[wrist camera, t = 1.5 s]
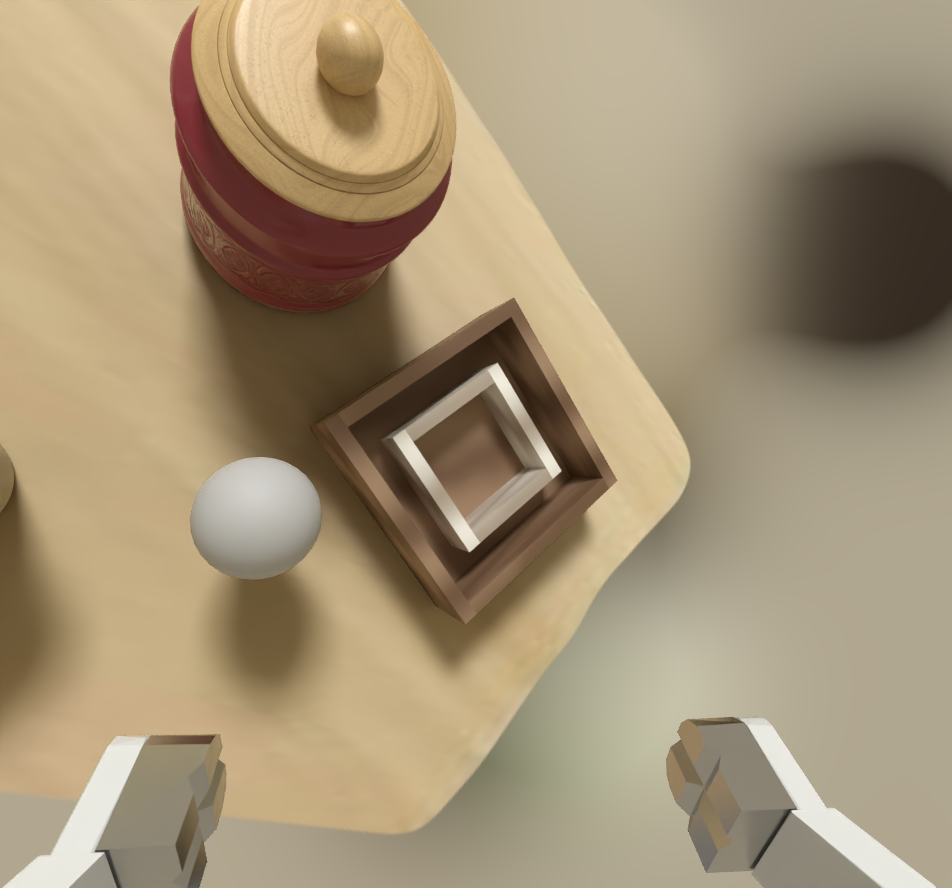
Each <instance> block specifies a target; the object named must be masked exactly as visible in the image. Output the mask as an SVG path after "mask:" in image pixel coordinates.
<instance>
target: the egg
mask: <svg viewBox="0 0 952 888" xmlns="http://www.w3.org/2000/svg"><path fill="white" fill-rule="evenodd" d="M321 519H322V512H321V503H320V500H319V496H318V493H317V491H316V489H315V487H314V485H313V484H312V482H311V481H310V480H309V479H308V478H307V476H306V475H305V474H304V473H302V472H301V471H300V470H299V469H297V468H296V467H294V466H292V465H291V464H289V463H287V462H284V461H281V460H278V459H275V458H267V457H253V458H245V459H241V460H238V461H234V462H232V463H230V464H228V465H226V466H224V467H222V468H221V469H219V470H218V471H216V472H215V473H214V474H212V475H211V477H210V478H209V479H208V480H207V481H206V482H205V483H204V484H203V486H202V487H201V489H200V490H199V492H198V493H197V495H196V498H195V501H194V503H193V506H192V511H191V517H190V524H191V534H192V537H193V540H194V544H195V546H196V547H197V549H198V551H199V553H200V554H201V556H202V557H203V558H204V559H205V560H206V561H207V562H208V563H209V564H210V565H211V566H213V567H214V568H215V569H217V570H218V571H220V572H222V573H224V574H227V575H229V576H231V577H236V578H241V579H264V578H270V577H273V576H276V575H279V574H282V573H284V572H286V571H287V570H289V569H291V568H293V567H294V566H295V565H297V564H298V563H299V562H300V561H301V560H303V559H304V557H305V556H306V555H307V554H308V553H309V551H310V550H311V549H312V547H313V545H314V543H315V541H316V540H317V537H318V534H319V531H320V527H321Z"/></svg>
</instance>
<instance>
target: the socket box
mask: <svg viewBox="0 0 952 888" xmlns="http://www.w3.org/2000/svg"><path fill="white" fill-rule="evenodd" d="M310 429H311V430H312V432H313V433H314V435H315V436H316V437H317V439H318V440H319V442H320V443H321V444H322V446H323V447H324V449H325V450H326V451H327V453H328V454H329V456H330V457H331V458H332V460H333V461H334V463H335V464H336V466H337V467H338V468H339V470H340V471H341V473H342V474H343V475H344V477H345V478H346V480H347V481H348V482H349V484H350V485H351V487H352V488H353V489H354V491H355V492H356V494H357V495H358V496H359V498H360V499H361V501H362V502H363V503H364V505H365V506H366V508H367V509H368V510H369V512H370V513H371V515H372V516H373V518H374V519H375V520H376V522H377V523H378V525H379V526H380V527H381V529H382V530H383V532H384V533H385V534H386V536H387V537H388V539H389V540H390V541H391V543H392V544H393V546H394V547H395V548H396V550H397V551H398V553H399V554H400V555H401V557H402V558H403V560H404V561H405V563H406V564H407V565H408V567H409V568H410V570H411V571H412V572H413V574H414V575H415V577H416V578H417V579H418V581H419V582H420V584H421V585H422V586H423V588H424V589H425V591H426V592H427V593H428V595H429V596H430V598H431V599H432V600H433V602H434V603H435V605H436V606H437V607H439V608H440V609H442V610H443V611H445V612H447V613H448V614H450V615H451V616H453V617H454V618H456V619H458V620H459V621H461V622H462V623H464V624H467V623H468V622H469V621H470V620H471V619H472V618H473V617H474V616H475V615H476V614H477V613H479V612H480V611H481V610H482V609H483V608H484V607H485V606H486V605H487V604H488V603H489V602H490V601H491V600H492V599H493V598H494V597H495V596H496V595H497V594H499V593H500V592H501V591H502V590H503V589H504V588H505V587H506V586H507V585H508V584H509V583H510V582H511V581H512V580H513V579H514V578H515V577H516V576H517V575H519V574H520V573H521V572H522V571H523V570H524V569H525V568H526V567H527V566H528V565H529V564H530V563H531V562H532V561H533V560H534V559H535V558H536V557H537V556H539V555H540V554H541V553H542V552H543V551H544V550H545V549H546V548H547V547H548V546H549V545H550V544H551V543H552V542H553V541H554V540H555V539H556V538H557V537H559V536H560V535H561V534H562V533H563V532H564V531H565V530H566V529H567V528H568V527H569V526H570V525H571V524H572V523H573V522H574V521H575V520H576V519H577V518H579V517H580V516H581V515H582V514H583V513H584V512H585V511H586V510H587V509H588V508H589V507H590V506H591V505H592V504H593V503H594V502H595V501H596V500H597V499H599V498H600V497H601V496H602V495H603V494H604V493H605V492H606V491H607V490H608V489H609V488H610V487H611V486H612V485H613V484H614V483H615V482H616V481H617V479H616V477H615V476H614V474H613V472H612V470H611V469H610V467H609V465H608V463H607V461H606V460H605V458H604V456H603V454H602V453H601V451H600V449H599V447H598V446H597V444H596V442H595V440H594V438H593V437H592V435H591V433H590V431H589V430H588V428H587V426H586V424H585V422H584V421H583V419H582V417H581V415H580V414H579V412H578V410H577V408H576V407H575V405H574V403H573V401H572V399H571V398H570V396H569V394H568V392H567V391H566V389H565V387H564V385H563V383H562V382H561V380H560V378H559V376H558V375H557V373H556V371H555V369H554V368H553V366H552V364H551V362H550V360H549V359H548V357H547V355H546V353H545V352H544V350H543V348H542V346H541V344H540V343H539V341H538V339H537V337H536V336H535V334H534V332H533V330H532V329H531V327H530V325H529V323H528V321H527V320H526V318H525V316H524V314H523V313H522V311H521V309H520V307H519V305H518V304H517V302H516V300H515V298H512V299H511V300H509V301H507V302H505V303H503V304H501V305H499V306H497V307H496V308H494V309H492V310H490V311H488V312H486V313H484V314H483V315H481V316H479V317H478V318H476V319H475V320H473V321H472V322H470V323H469V324H467V325H466V326H464V327H462V328H461V329H459V330H458V331H456V332H455V333H453V334H452V335H450V336H449V337H447V338H446V339H444V340H443V341H441V342H440V343H438V344H436V345H435V346H433V347H432V348H430V349H429V350H427V351H426V352H424V353H423V354H421V355H420V356H418V357H417V358H415V359H414V360H412V361H410V362H409V363H407V364H406V365H404V366H403V367H401V368H400V369H398V370H397V371H395V372H394V373H392V374H391V375H389V376H388V377H386V378H384V379H383V380H381V381H380V382H378V383H377V384H375V385H374V386H372V387H371V388H369V389H368V390H366V391H365V392H363V393H362V394H360V395H359V396H357V397H355V398H354V399H352V400H351V401H349V402H348V403H346V404H345V405H343V406H342V407H340V408H339V409H337V410H336V411H334V412H333V413H331V414H329V415H328V416H326V417H325V418H323V419H322V420H320V421H319V422H317V423H316V424H314V425H313V426H311V427H310Z"/></svg>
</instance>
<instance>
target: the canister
mask: <svg viewBox="0 0 952 888" xmlns="http://www.w3.org/2000/svg"><path fill="white" fill-rule="evenodd" d="M170 92H171V100H172V106H173V111H174V116H175V138H176V146H177V151H178V156H179V159H180V163H181V166H182V169H181V179H180V189H181V199H182V206H183V211H184V216H185V219H186V222H187V225H188V228H189V230H190V233H191V235H192V237H193V239H194V241H195V243H196V245H197V246H198V248H199V250H200V251H201V253H202V254H203V256H204V257H205V258H206V260H207V261H208V262H209V264H210V265H211V266H212V267H213V269H214V270H215V271H216V272H217V273H218V274H219V275H220V276H221V277H222V278H223V279H224V280H225V281H226V282H227V283H228V284H230V285H231V286H232V287H233V288H235V289H236V290H237V291H239V292H240V293H242V294H243V295H245V296H247V297H248V298H250V299H252V300H254V301H256V302H258V303H261V304H263V305H266V306H268V307H271V308H275V309H278V310H283V311H288V312H297V313H311V312H319V311H325V310H330V309H334V308H337V307H340V306H343V305H345V304H347V303H349V302H351V301H353V300H355V299H356V298H358V297H359V296H361V295H362V294H363V293H365V292H366V291H367V290H368V289H369V288H370V287H371V286H372V285H373V284H374V283H375V282H376V281H377V280H378V278H379V277H380V276H381V274H382V273H383V271H384V270H385V268H386V266H387V264H389V263H390V262H392V261H393V260H394V259H396V258H397V257H398V256H399V255H400V254H401V253H402V252H403V251H404V250H405V249H406V248H407V247H408V245H409V244H410V243H411V241H412V240H413V239H414V238H415V237H417V236H418V235H419V234H420V233H421V232H422V231H423V230H424V229H425V228H426V227H427V226H428V225H429V224H430V223H431V221H432V220H433V218H434V217H435V216H436V214H437V212H438V211H439V209H440V207H441V205H442V203H443V200H444V198H445V195H446V192H447V189H448V185H449V181H450V175H451V167H452V155H453V152H454V146H455V139H456V113H455V105H454V100H453V95H452V91H451V87H450V84H449V81H448V78H447V75H446V73H445V70H444V68H443V66H442V63H441V61H440V59H439V57H438V55H437V53H436V51H435V50H434V48H433V46H432V45H431V43H430V41H429V40H428V38H427V37H426V35H425V34H424V32H423V31H422V30H421V28H420V27H419V26H418V24H417V23H416V22H415V21H414V19H413V18H412V17H411V16H410V15H409V14H408V13H407V11H406V10H405V9H404V8H403V7H402V6H401V5H400V4H399V3H398V2H397V1H396V0H202V1H201V3H200V5H199V6H198V7H197V8H196V9H195V10H194V12H193V13H192V14H191V15H190V17H189V18H188V20H187V21H186V23H185V24H184V26H183V28H182V30H181V32H180V34H179V36H178V39H177V41H176V44H175V47H174V51H173V55H172V61H171V68H170Z"/></svg>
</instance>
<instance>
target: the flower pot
mask: <svg viewBox="0 0 952 888" xmlns="http://www.w3.org/2000/svg"><path fill="white" fill-rule="evenodd" d="M13 485H14V470H13V466H12V462H11V460H10V458H9V456H8V454H7V453H6V451H5V450H4V448H3V447H2V446H1V445H0V513H1V511H2V510H3V509H4V507H5V506H6V504H7V502H8V500H9V498H10V496H11V493H12V489H13Z"/></svg>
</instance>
